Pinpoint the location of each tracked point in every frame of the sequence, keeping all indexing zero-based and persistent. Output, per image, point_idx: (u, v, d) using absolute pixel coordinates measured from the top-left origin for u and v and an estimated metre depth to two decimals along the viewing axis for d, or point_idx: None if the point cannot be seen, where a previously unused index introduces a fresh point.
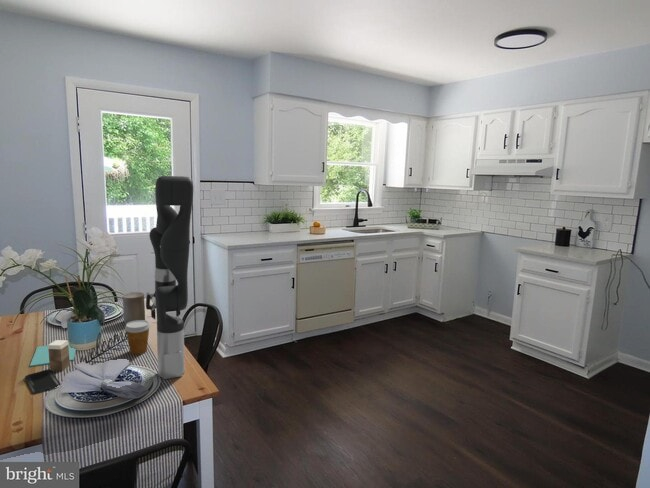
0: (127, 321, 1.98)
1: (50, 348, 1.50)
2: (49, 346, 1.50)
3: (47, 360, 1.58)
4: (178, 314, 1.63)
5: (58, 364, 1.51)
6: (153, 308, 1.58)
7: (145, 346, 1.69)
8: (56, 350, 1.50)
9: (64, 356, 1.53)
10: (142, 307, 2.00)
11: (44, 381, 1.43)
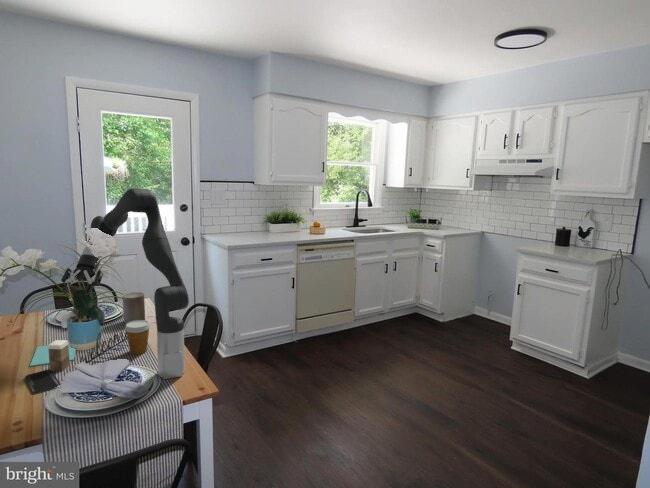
0: (127, 321, 1.98)
1: (50, 348, 1.50)
2: (49, 346, 1.50)
3: (47, 360, 1.58)
4: (86, 290, 1.61)
5: (58, 364, 1.51)
6: (67, 280, 1.63)
7: (145, 346, 1.69)
8: (56, 350, 1.50)
9: (64, 356, 1.53)
10: (142, 307, 2.00)
11: (44, 381, 1.43)
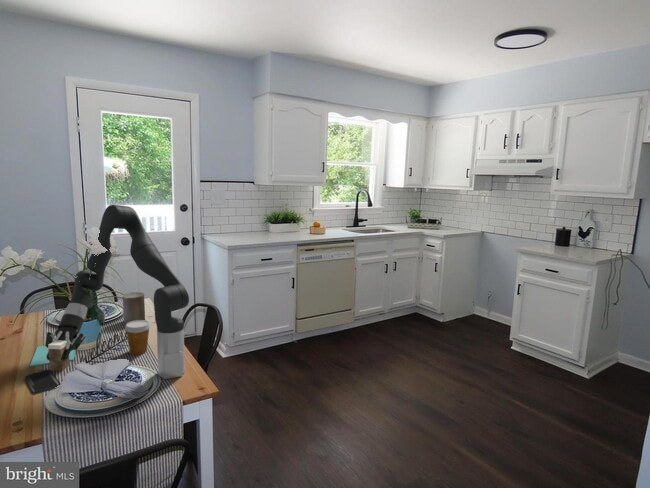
0: (127, 321, 1.98)
1: (50, 348, 1.50)
2: (49, 346, 1.50)
3: (47, 360, 1.58)
4: (63, 356, 1.51)
5: (58, 364, 1.51)
6: None
7: (145, 346, 1.69)
8: (56, 350, 1.50)
9: None
10: (142, 307, 2.00)
11: (44, 381, 1.43)
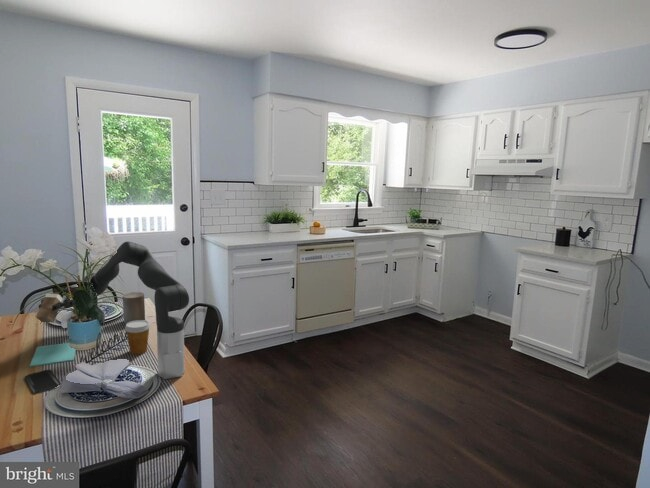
0: (127, 321, 1.98)
1: (47, 296, 1.61)
2: (47, 294, 1.61)
3: (47, 360, 1.58)
4: (55, 304, 1.59)
5: (47, 311, 1.57)
6: None
7: (145, 346, 1.69)
8: (51, 298, 1.60)
9: None
10: (142, 307, 2.00)
11: (44, 381, 1.43)
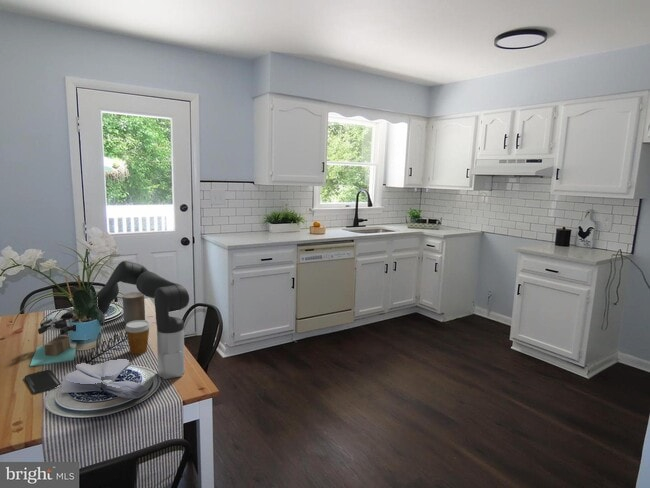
0: (127, 321, 1.98)
1: (60, 336, 1.70)
2: (61, 335, 1.71)
3: (47, 360, 1.58)
4: (63, 328, 1.62)
5: (57, 342, 1.64)
6: (46, 324, 1.66)
7: (145, 346, 1.69)
8: (65, 336, 1.69)
9: (64, 344, 1.66)
10: (142, 307, 2.00)
11: (44, 381, 1.43)
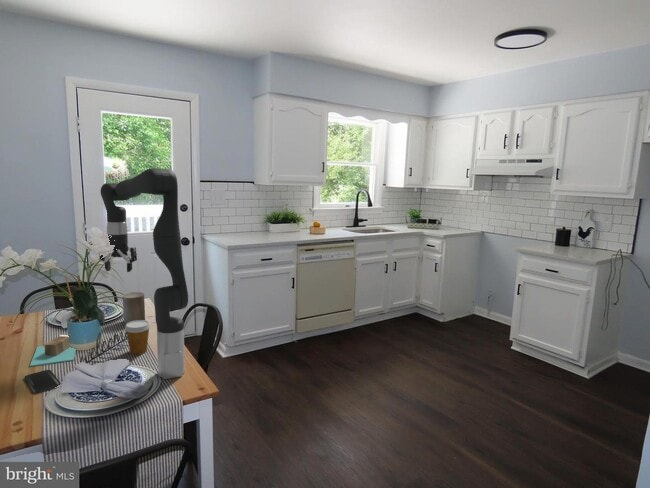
0: (127, 321, 1.98)
1: (60, 336, 1.70)
2: (61, 335, 1.71)
3: (47, 360, 1.58)
4: (128, 269, 1.70)
5: (57, 342, 1.64)
6: (105, 260, 1.69)
7: (145, 346, 1.69)
8: (65, 336, 1.69)
9: (64, 344, 1.66)
10: (142, 307, 2.00)
11: (44, 381, 1.43)
